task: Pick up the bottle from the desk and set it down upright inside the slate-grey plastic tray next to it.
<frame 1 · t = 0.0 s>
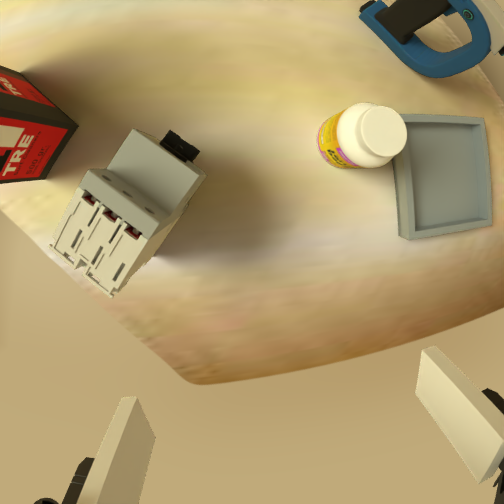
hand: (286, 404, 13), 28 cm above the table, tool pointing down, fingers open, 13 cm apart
circuit breaker: (160, 193, 38), on the table
cleaning product box: (29, 122, 34), on the table
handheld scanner: (392, 39, 34), on the table
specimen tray: (440, 173, 38), on the table
supplement bottle: (340, 142, 37), on the table
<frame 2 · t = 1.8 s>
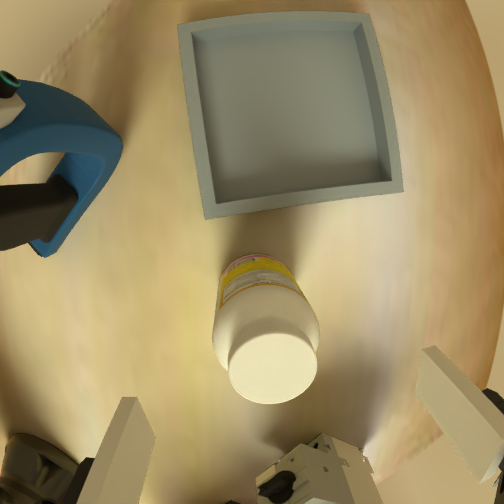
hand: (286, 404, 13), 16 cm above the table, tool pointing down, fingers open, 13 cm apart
circuit breaker: (306, 450, 34), on the table
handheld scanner: (74, 196, 25), on the table
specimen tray: (289, 107, 25), on the table
supplement bottle: (256, 287, 28), on the table
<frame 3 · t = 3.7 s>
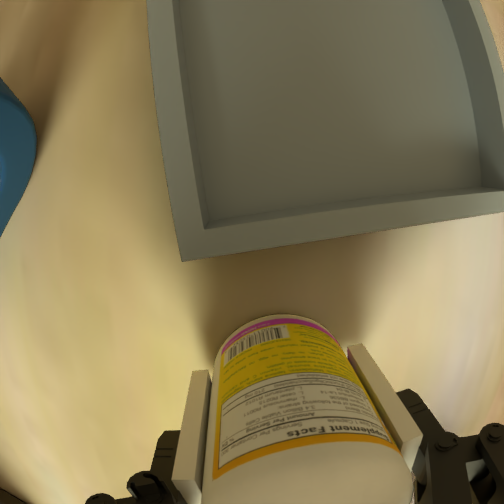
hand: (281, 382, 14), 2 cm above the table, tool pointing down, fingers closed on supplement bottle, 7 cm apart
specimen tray: (339, 53, 12), on the table
supplement bottle: (278, 363, 16), on the table, touching gripper
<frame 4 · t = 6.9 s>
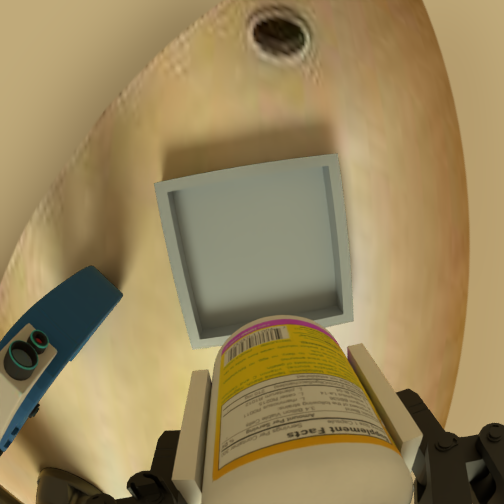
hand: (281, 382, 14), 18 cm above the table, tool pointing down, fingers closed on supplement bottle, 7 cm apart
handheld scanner: (87, 313, 32), on the table
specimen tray: (259, 249, 31), on the table
supplement bottle: (278, 364, 16), point 16 cm above the table, touching gripper
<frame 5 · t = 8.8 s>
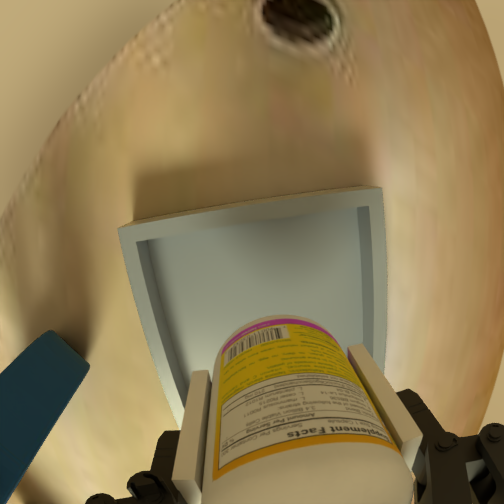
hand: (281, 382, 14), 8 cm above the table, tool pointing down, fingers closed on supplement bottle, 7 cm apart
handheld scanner: (55, 373, 24), on the table
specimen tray: (265, 312, 23), on the table
supplement bottle: (278, 363, 16), point 7 cm above the table, touching gripper
when the fingers open (4 cm above the table, at t = 10.5 s): supplement bottle drops 1 cm, resting on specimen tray.
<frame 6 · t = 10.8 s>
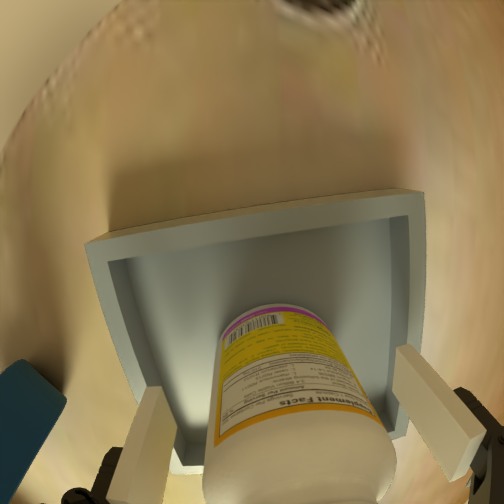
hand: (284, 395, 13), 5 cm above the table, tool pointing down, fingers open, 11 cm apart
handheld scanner: (33, 401, 19), on the table
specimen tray: (273, 344, 18), on the table
supplement bottle: (275, 350, 18), point 1 cm above the table, touching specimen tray
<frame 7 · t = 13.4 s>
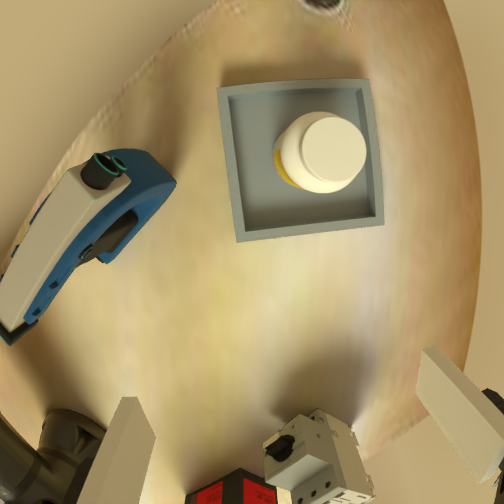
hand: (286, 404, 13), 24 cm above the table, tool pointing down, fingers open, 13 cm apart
circuit breaker: (304, 424, 43), on the table
cleaning product box: (229, 491, 48), on the table
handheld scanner: (130, 216, 35), on the table
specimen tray: (301, 156, 34), on the table
supplement bottle: (302, 156, 33), point 1 cm above the table, touching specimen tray
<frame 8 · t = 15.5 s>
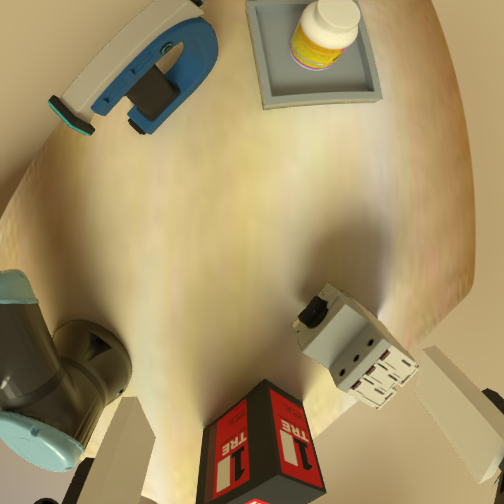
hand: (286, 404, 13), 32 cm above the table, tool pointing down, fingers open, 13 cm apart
circuit breaker: (330, 312, 47), on the table
cleaning product box: (251, 417, 51), on the table
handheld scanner: (170, 97, 38), on the table
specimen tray: (311, 52, 37), on the table
supplement bottle: (312, 51, 37), point 1 cm above the table, touching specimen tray
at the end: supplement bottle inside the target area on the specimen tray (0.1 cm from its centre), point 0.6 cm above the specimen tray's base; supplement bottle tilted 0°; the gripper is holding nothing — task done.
